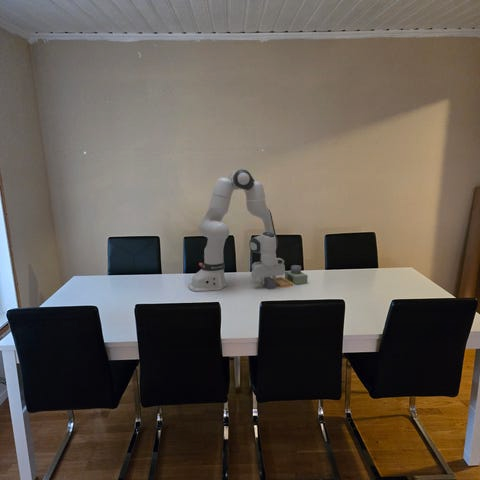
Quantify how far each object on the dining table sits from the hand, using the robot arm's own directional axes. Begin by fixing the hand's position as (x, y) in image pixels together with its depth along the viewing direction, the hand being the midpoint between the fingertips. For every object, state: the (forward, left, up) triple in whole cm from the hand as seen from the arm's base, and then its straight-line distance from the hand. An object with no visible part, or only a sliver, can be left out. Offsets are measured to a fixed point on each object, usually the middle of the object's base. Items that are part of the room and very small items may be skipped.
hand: (268, 283), depth 222 cm
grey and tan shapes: (+14, +3, -2) cm, 14 cm away
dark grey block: (0, 0, -2) cm, 2 cm away
